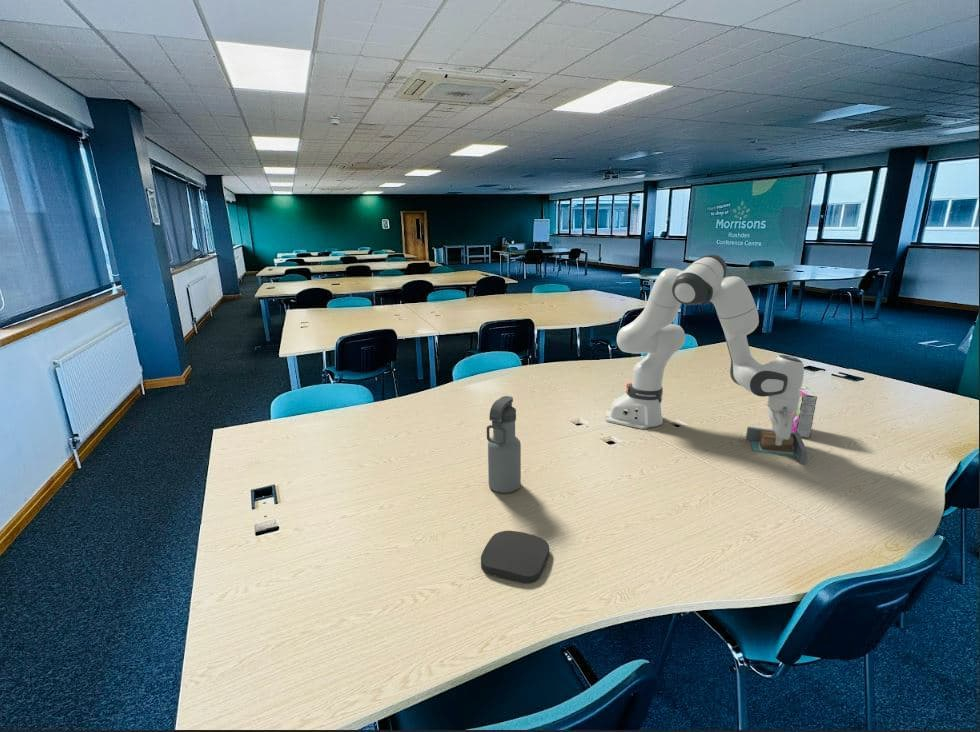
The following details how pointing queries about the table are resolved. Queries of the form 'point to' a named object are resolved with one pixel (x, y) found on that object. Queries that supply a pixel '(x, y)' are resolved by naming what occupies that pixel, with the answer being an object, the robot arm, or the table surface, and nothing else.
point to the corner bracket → (797, 451)
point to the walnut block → (769, 442)
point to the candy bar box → (804, 413)
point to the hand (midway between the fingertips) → (776, 440)
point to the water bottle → (503, 448)
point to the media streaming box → (515, 556)
